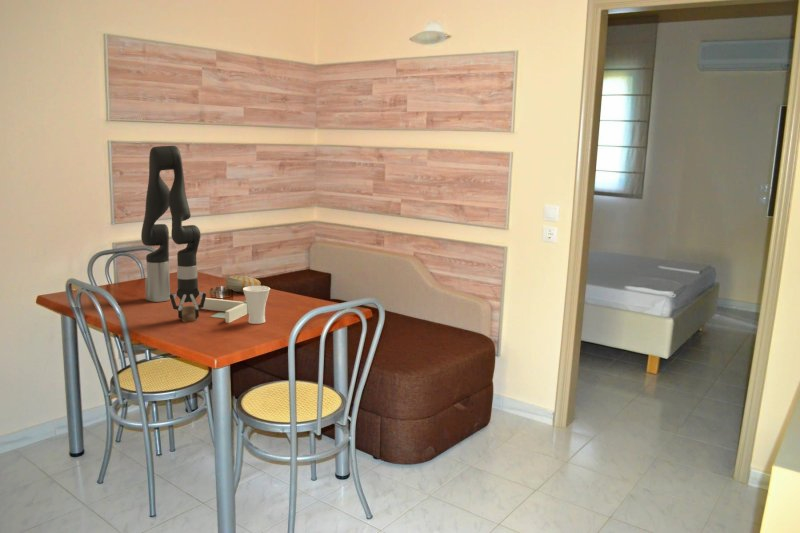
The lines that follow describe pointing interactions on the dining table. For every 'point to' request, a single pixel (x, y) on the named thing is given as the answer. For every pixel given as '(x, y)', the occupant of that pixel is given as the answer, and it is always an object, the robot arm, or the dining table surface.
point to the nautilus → (241, 282)
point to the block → (188, 313)
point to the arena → (227, 308)
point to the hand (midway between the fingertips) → (188, 318)
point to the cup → (256, 302)
